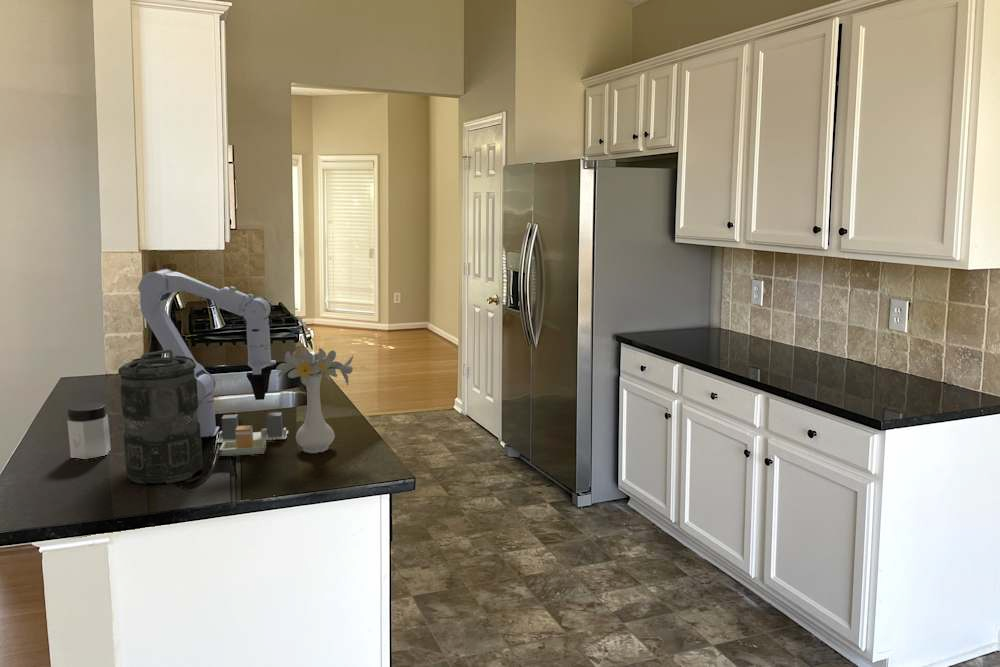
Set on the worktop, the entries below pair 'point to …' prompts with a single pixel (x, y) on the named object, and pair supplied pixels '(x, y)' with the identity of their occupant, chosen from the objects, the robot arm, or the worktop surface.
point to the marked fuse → (244, 436)
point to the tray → (230, 448)
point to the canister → (160, 418)
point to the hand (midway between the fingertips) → (261, 395)
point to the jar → (88, 430)
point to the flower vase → (314, 394)
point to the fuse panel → (270, 433)
